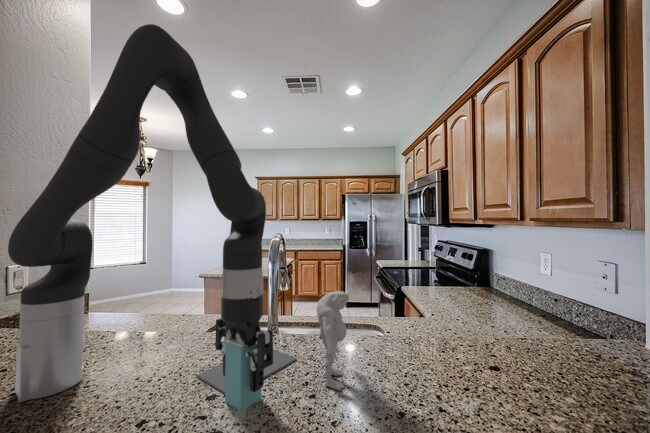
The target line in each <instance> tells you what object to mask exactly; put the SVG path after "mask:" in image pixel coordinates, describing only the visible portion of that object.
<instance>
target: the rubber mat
mask: <svg viewBox="0 0 650 433" xmlns="http://www.w3.org/2000/svg"><path fill="white" fill-rule="evenodd" d="M264 358H265V359H266V355H265V356H264ZM297 359H298V358H296V357H294V356H292V355H289V354H286V353H284V352H281V351H279V350H275V349H274V348H273V364H272V365H271V366H268V367H267V368H265V369H264V380H265V379H266V378H268V377H270V376H272V375H273V374H275V373H276V372H278V371H280V370H282V369H283V368H284V369H285V367H288V366H289V365H291V364H293V363H294V362H296V361H297ZM196 378H198V379H199V380H200V381H202V382H204V383H205V384H207V385H209V386H210V387H212V388H214V389H215V390H217V391H219V392H220V393H222V394H224V395H225V376H224V375H223V363H220V364H219V365H215V366H214V367H211V368H210V369H207V370H204V371H203V372H199V373H198V374H196Z"/></svg>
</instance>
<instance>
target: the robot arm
mask: <svg viewBox="0 0 650 433" xmlns="http://www.w3.org/2000/svg"><path fill="white" fill-rule="evenodd" d="M154 86H155V87H157V88H158V89H161V90H162V91H164V92H165V93H166V94H167V95H168V96H169V98H170V99H171V100H172V101H173V102H174V104H175V105H176V107H177V108H178V110H179V112H180V114H181V116H182V118H183V121H184V126H185V134H186V138H187V142H188V144H189V147H190V150H191V152H192V154H193V156H194V157H195V159H196V161H197V163H198V164H199V166H200V168H201V171H202V172H203V173H204V175H205V177H206V180H207V181H206V182H207V186H208V187H209V191H210V193H211V194H210V195H211V198H212V200H213V202H214V204H215V206H216V208H217V210H218V211H219V212H220V214H221V215H222V216H223V217H224V218H225V219H226V220H229V221H230V222H231V224H230V232H229V236H228V237H227V238H226V239H225V240H224V242H223V246H222V247H223V248H222V273H221V279H220V280H221V282H220V284H221V285H220V287H221V288H220V318H218V319H216V320H215V337H214V338H215V339H214V340H215V342H214V343H215V344H214V345H215V346H214V348H215V350H216V351H220V355H221V357H222V364H223V375H224V376H225V354H226V341H228V340H230V339H235V340H237V342H238V343H239V344H242V345H243V347H244V358H245V359H248V361H249V364H250V367H251V370H250V390H251V391H252V392H256V391H258V390H259V389H261V390H262V388H263V386H264V384H265V382H264V380H265V379H264V369H265V368H267V367H268V366H271V365H272V364H273V349H274V336H273V335H274V333H273V330H271V329H268V330H262V329H261V326H260V321H261V318H262V317H263V316H264V273H263V246H262V244H263V236H264V229H265V224H266V217H267V216H266V215H267V205H266V204H267V203H266V200H265V197H264V196H263V194H262V192H260V191H259V190H258V189H256V188H254V187H252V186H251V184H250V183H249V182H248V180H247V179H246V177H245V175H244V173H243V171H242V162H241V160H240V157H239V156H238V153H237V152H236V150H235V148H234V147H233V145H232V143H231V141H230V139H229V137H228V136H227V134H226V132H225V130H224V129H223V127H222V125H221V124H220V121H219V119H218V117H217V116H216V113H215V112H214V109H213V108H212V106H211V102H210V101H209V98H208V96H207V93H206V91H205V88H204V85H203V83H202V80H201V77H200V74H199V71H198V69H197V67H196V64H195V62H194V59H193V58H192V56H191V55H190V53H189V52H188V51H187V50H186V49H185V48H184V47H183V46H182V45H181V44H180V43H179V42H178V41H177V40H176V39H175V38H174V37H172V36H171V34H170V33H168V32H167V31H166V30H165V29H164V28H162V27H161V26H160V25H156V24H153V23H148V24H143V25H141V26H139V27H138V28H137V29H136V28H135V30H134V31H133V32H132V33H131V35H130V36H129V37H128V38H127V40H126V42H125V44H124V46H123V48H122V50H121V52H120V54H119V57H118V58H117V61H116V63H115V65H114V68H113V70H112V73H111V76H110V78H109V80H108V82H107V84H106V86H105V88H104V90H103V92H102V94H101V96H100V98H99V99H98V101H97V103H96V105H95V107H94V108H93V110H92V112H91V114H90V115H89V117H88V119H87V120H86V121H85V123H84V124H83V126H82V128H81V129H80V130H79V132H78V134H77V136H76V137H75V139H74V140H73V142H72V143H71V146H70V147H69V149H68V151H67V152H66V154H65V157H64V158H63V160H62V162H61V163H60V165H59V167H58V168H57V170H56V171H55V172H54V174H53V176H52V178H51V179H50V181H48V184H47V185H46V187H45V188H44V190H42V192H41V193H40V195H39V196H38V197H37V198H36V200H35V201H34V202H33V203H32V205H30V207H29V209H27V211H26V212H25V213H24V215H23V216H22V217H21V219H20V220H19V221H18V222H17V223H16V225H15V227H14V228H13V230H12V232H11V235H10V237H9V240H8V245H7V252H8V255H9V258H10V260H11V261H12V262H13V263H14V264H15V265H17V266H21V267H27V268H29V267H30V268H36V267H37V268H38V267H46V266H47V267H48V266H50V269H49V270H48V272H47V273H46V274H45V275H43V277H41V278H40V279H38V280H36V281H34V282H31V283H30V284H28V285H26V286H24V287H23V289H21V292H20V308H19V333H18V341H17V342H16V360H15V383H14V385H15V386H14V392H15V395H16V398H17V401H18V403H23V402H27V401H30V400H36V399H37V400H38V399H42V398H46V397H50V396H52V395H53V396H54V395H57V394H59V393H61V392H63V391H66V390H68V389H70V388H72V387H74V386H75V385H77V384H78V383H80V381H82V378H83V369H84V367H83V365H84V336H85V335H84V334H85V333H84V330H85V329H84V328H85V301H86V300H85V294H86V287H87V285H88V283H89V280H90V276H91V275H90V274H91V269H92V268H91V266H92V257H93V256H92V255H93V242H94V241H93V235H92V232H91V229H90V227H89V225H88V224H86V223H85V222H83V221H82V220H78V219H71V218H72V217H73V216H74V215H75V214H76V213H77V212H78V210H80V209H81V208H82V207H83V206H84V205H87V204H88V203H89V202H90V201H92V200H93V199H95V198H97V197H99V196H100V195H102V194H103V193H105V192H107V191H108V190H109V189H111V188H113V187H114V186H115V185H116V184H118V183H119V182H120V181H121V180H122V179H123V178H124V177H125V175H126V174H127V172H128V170H129V169H130V167H131V166H132V164H133V162H134V161H135V159H136V158H137V155H138V153H139V151H140V146H141V145H140V143H141V126H140V125H141V123H140V122H141V120H140V119H141V111H142V109H143V105H144V103H145V101H146V99H147V97H148V96H149V93H150V92H151V90H152V89H153V87H154ZM222 338H224V339H223V341H222ZM255 343H256V344H257V348H256V349H254V350H252V351H250V350H249V349H248V347H251V346H253V345H255ZM254 355H257V362H256V361H255V359H254ZM265 355H266V359H265V358H264V356H265Z"/></svg>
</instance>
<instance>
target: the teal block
mask: <svg viewBox="0 0 650 433" xmlns="http://www.w3.org/2000/svg"><path fill="white" fill-rule="evenodd" d="M256 348H257V344H256V343H255V345H253V346H251V347H248V349H249V350H250V351H252V350H254V349H256ZM254 359H255V361H256V362H257V355H254ZM250 370H251V367H250V364H249V361H248V359H245V358H244V347H243V345H242V344H239V343H238V342H237V340H235V339H230V340H228V341H226V354H225V394H224V403H225V404H227V405H229V406H230V407H232V408H233V409H235V410H236V411H238V412H239V413H241V412H243V411H244V410H246V409H247V408H248V407H250V406H253V404H256V403H257V402H258V401H260V400H261V399H262V388H261V389H259V390H258V391H256V392H252V391H251V390H250Z"/></svg>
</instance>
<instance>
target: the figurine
mask: <svg viewBox="0 0 650 433" xmlns="http://www.w3.org/2000/svg"><path fill="white" fill-rule="evenodd" d="M349 299H350V296H349V294H348V293H346V292H345V291H342V290H336V291H335V290H334V291H330V292H328V293H326V294H325V295H323V296H322V297H321V298H320V299H318V302H317V305H316V306H317V307H316V316H317V320H318V323H319V334H318V338H319V339H320V340H322V341H323V346H324V347H325V352H324V359H325V361H324V369H325V371H324V377H326V380H325V382H324V385H325V386H326V387H329V388H331V389H333V390H337V391H340V392H341V391H342V389H344V383H343V382H339V381H336V380H335V379H333V378H332V376H335V377H338V376H339V377H342V376H343V373H342V371H341V370H340V369H338V368H336V369H334V368H333V364H334V363H333V362H334V361H336V362H338V361H339V360H338V357H337V355H340V350H339V349H338V347H337V346H338V342H342V341H344V339H345V338H346V337H347V326H346V323H345V322H344V321H343V315H342V313H341V310H343V309H344V308H346V307H345V306H346V305H347V303H348V301H349Z"/></svg>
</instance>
